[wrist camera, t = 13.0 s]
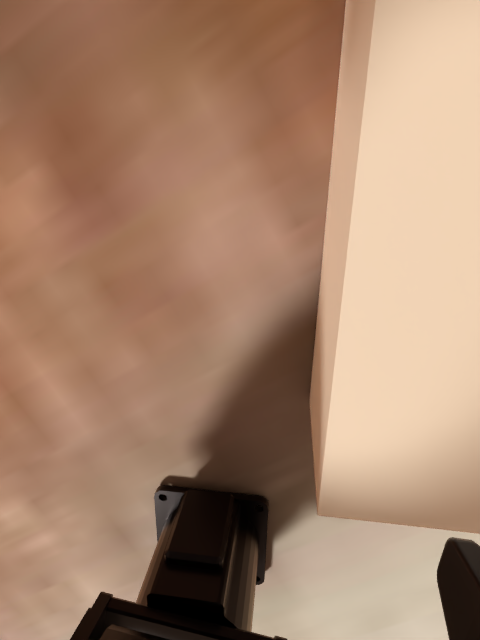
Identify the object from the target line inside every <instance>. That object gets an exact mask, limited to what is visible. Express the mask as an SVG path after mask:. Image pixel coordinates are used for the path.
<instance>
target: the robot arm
mask: <svg viewBox="0 0 480 640" xmlns="http://www.w3.org/2000/svg"><path fill="white" fill-rule="evenodd" d="M162 494H164V495H166V496H164V495H162ZM154 499H155V513H156V526H157V540H158V543H157V546H156V549H155V552H154V554H153V557H152V560H151V562H150V565H149V568H148V571H147V573H146V576H145V579H144V582H143V584H142V587H141V590H140V592H139V595H138V598H137V601H136V603H135V602H131V601H127V600H123V599H119V598H115V597H113V594H109V593H105V592H101V593H100V594H99V596H98V598H97V599H96V601H95V603H94V604H93V606H92V608H89V609H88V610H87V612H86V614H85V615H84V617H83V619H82V620H81V622H80V624H79V625H78V627H77V629H76V630H75V632H74V634H73V635H72V637H71V639H70V640H287V639H286V638H282V637H278V636H275V637H274V638H272V637H268V636H265V635H261V634H257V633H253V632H251V630H252V619H253V608H254V597H255V586H256V585H259V584H262V583H263V582H264V576H265V559H266V541H267V523H268V505H269V503H268V500H267V499H266V498H264V497H262V496H256V495H247V494H238V493H229V492H220V491H211V490H201V489H192V488H183V487H174V486H165V485H164V486H159V487H158V488H157V490H156V492H155V496H154ZM257 505H261V506H257ZM437 583H438V588H439V592H440V597H441V602H442V607H443V612H444V616H445V621H446V626H447V631H448V635H449V640H480V546H479V545H478V544H477V543H475V542H474V541H472V540H467V539H460V538H454V537H452V538H449V539H448V540H447V542H446V544H445V547H444V550H443V553H442V556H441V559H440V562H439V565H438V569H437Z"/></svg>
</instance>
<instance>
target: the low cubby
mask: <svg viewBox="0 0 480 640" xmlns="http://www.w3.org/2000/svg"><path fill="white" fill-rule="evenodd" d="M309 402H310V416H311V430H312V444H313V458H314V472H315V486H316V500H317V515H320V516H329V517H337V518H346V519H355V520H364V521H373V522H382V523H390V524H399V525H408V526H417V527H426V528H435V529H444V530H452V531H461V532H470V533H479V534H480V0H346V6H345V17H344V28H343V39H342V50H341V61H340V72H339V83H338V94H337V105H336V116H335V126H334V137H333V148H332V159H331V170H330V181H329V192H328V203H327V214H326V225H325V236H324V247H323V258H322V269H321V280H320V290H319V301H318V312H317V323H316V334H315V345H314V356H313V367H312V378H311V389H310V400H309Z"/></svg>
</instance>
